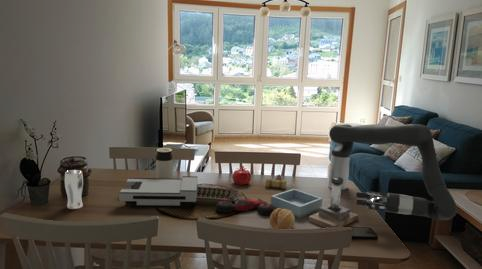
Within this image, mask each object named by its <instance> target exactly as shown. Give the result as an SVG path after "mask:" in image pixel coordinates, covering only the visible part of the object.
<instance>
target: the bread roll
mask: <svg viewBox="0 0 482 269" xmlns="http://www.w3.org/2000/svg"><path fill="white" fill-rule="evenodd" d="M295 221H296V217H295V216H294V214H293V213H292V212H291V211H290V210H288V209H283V208H277V209H275V208H274V211H273V212H272V214H271V215H269V225H270V228H271V229H272V228H273V229H291V230H292V228H293V227H294V225H295V223H296V222H295Z"/></svg>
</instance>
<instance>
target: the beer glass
mask: <svg viewBox="0 0 482 269" xmlns="http://www.w3.org/2000/svg"><path fill="white" fill-rule="evenodd" d="M64 188H65V192H66V195H67V204H66V208H67V209H68V210H69V209H70V210H78V209H81V208H83V205H84V204H83V200H82V196H83V195H82V194H83V188H84V175H83V170H81V169H80V170H79V169H70V170H67V171H65V172H64Z"/></svg>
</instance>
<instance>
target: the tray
mask: <svg viewBox="0 0 482 269" xmlns="http://www.w3.org/2000/svg"><path fill="white" fill-rule="evenodd" d="M270 204H271V205H272V206H273V207H274V210H275V209H277V208H283V209H288V210H290V211H291V212H292V213H293V214H294V217H295V218H297V219H301V218H304V217H306V216H308V215H309V216H310V215H311V214H314V213H317V212H319V208H320V207H323V198H322V197H320V196H317V195H313V194H310V193H308V192H304V191H302V190H300V189H296V188H292V189H288V190H285V191H283V192H279V193H276V194H273V195H271V196H270Z"/></svg>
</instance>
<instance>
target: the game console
mask: <svg viewBox="0 0 482 269" xmlns="http://www.w3.org/2000/svg"><path fill="white" fill-rule="evenodd" d="M197 196H198V176H190V175H189V176H188V175H187V176H186V175H185V176H182V178H172V179H169V178H156V177H154V178H153V177H128V178H127V180H126V188H125V189H124V188H121V190H120V191H119V193H118V201H120V202H125V205H131V209H191V208H192V207H191V206H196V202H197V199H198V198H197ZM196 198H197V199H196Z"/></svg>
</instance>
